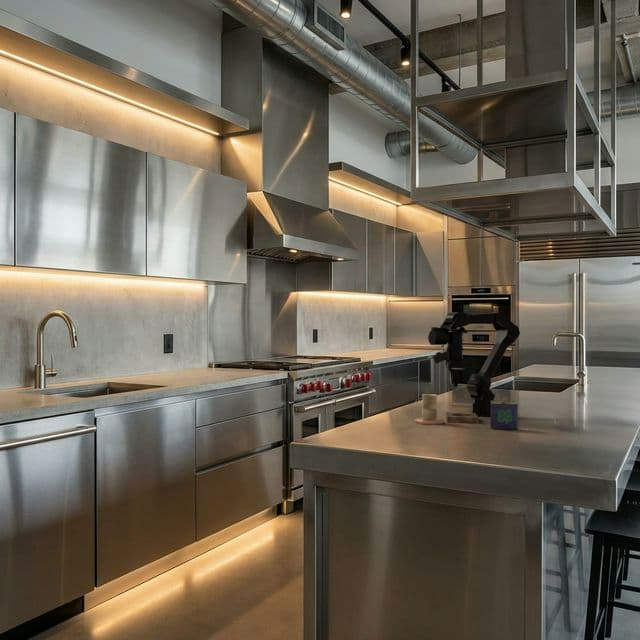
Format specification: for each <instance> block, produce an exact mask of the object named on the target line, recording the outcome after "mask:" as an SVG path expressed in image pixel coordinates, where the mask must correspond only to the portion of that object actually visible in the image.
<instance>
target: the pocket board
mask: <svg viewBox="0 0 640 640" xmlns="http://www.w3.org/2000/svg"><path fill="white" fill-rule="evenodd" d="M445 420H446V423H462V424H479V416H477V415H476V414H475V413H472V412H451V411H450V412H449V411H448V412H447V411H446V412H445Z"/></svg>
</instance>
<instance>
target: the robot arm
mask: <svg viewBox="0 0 640 640" xmlns="http://www.w3.org/2000/svg"><path fill="white" fill-rule="evenodd" d="M482 323H483V324H484V323H491V326H492V327H493V329H494V330H495V331H496V335H495V342H494V344H493V346H492V349H491V351H490V352H489V354H488V356H487V357H486V360H485V361H484V364H483V365H482V366H481V369H480V370H479V372H478V373H477V374H475V373H472V374H471V375H470V377H469V380H468V381H467V382H466V383H467V385H466V389H467V392H468V394H469V396H470V398H471V399H473V401H472V403H471V413H475V414H476V415H477V417H491V403H492V401H493V402H494V399H495V398H496V397H495V396H496V395H495V394H494V393H493V391H492V390H491V387H492V377H493V375H494V373H495V371H496V369H497V368H498V366H499V364H500V362H501V361H502V359H503V356H504V355H505V353H506V352H507V351H506V350H507V349H508V348H509V347H510V346H511V345H512V344H514V343H515V342H516V341H517V339H518V338H519V337H520V334H521V331H520V327H518V325H516V324H515V323H514V322H512V320H510V319H509V318H507V317H506V316H504V315H503V313H501V312H500V311H499V312H498V311H496V312H495V311H494V312H488V313H487V312H486V313H485V312H484V313H466V312H462V311H461V312H459V311H458V312H457V311H456V312H448V313H447V314H446V315H445V319H444V321H443V322H442V323H441V325H440V326H439V327H438V326H433V327H430V328H431V330H430V331H429V333H428V336H427V339H428V343H429V345H431V346H445V345H447V346H446V347H445V348H446V349H445V351H442V352H441V351H436V352H435V354H433V355H432V359H433V362H434V364H435V365H437V364H440V363H442V362H444V361H445V367H446V369H447V370H448V371H449V373H450V378H451V384H452V385H453V387H454V388H457V387H458V385H459V383H460V382H461V379H462V376H463V374H464V372H465V369H466V362H464V358H463V356H464V355H463V351H464V347H463V344H464V343H463V342H464V341H463V340H464V338H463V337H464V334H468V333H469V332H468V330H467V329H466V328H465V327H467V326H469V325H471V324H482Z"/></svg>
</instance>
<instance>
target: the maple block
mask: <svg viewBox="0 0 640 640" xmlns="http://www.w3.org/2000/svg"><path fill="white" fill-rule="evenodd" d="M421 401H422V407H421V408H422V411H421V413H422V417H421V418H422V420H431V421H437V418H438V416H437V415H438V414H437V413H438V411H437V410H438V404H437V403H438V395H437V394H435V393H422V399H421Z"/></svg>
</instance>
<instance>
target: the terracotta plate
mask: <svg viewBox="0 0 640 640" xmlns="http://www.w3.org/2000/svg"><path fill="white" fill-rule="evenodd" d="M414 421H415V423H416V424H419V425H429V426H431V425H432V426H433V425H434V426H437V425H442V424H444V419H442V418H438V417H437V421H431V420H422V417H416V418H415V420H414Z"/></svg>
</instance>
